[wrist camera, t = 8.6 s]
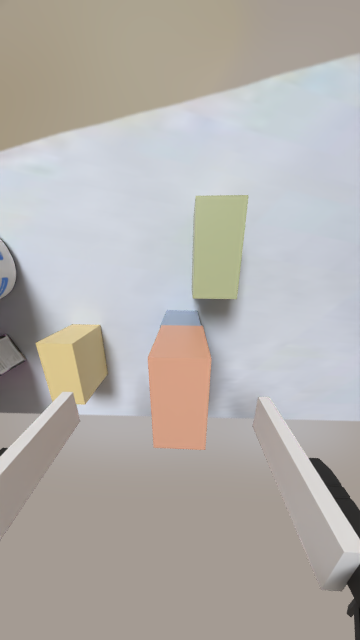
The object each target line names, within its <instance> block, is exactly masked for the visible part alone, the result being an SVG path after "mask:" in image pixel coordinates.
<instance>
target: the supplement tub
mask: <svg viewBox="0 0 360 640" xmlns="http://www.w3.org/2000/svg"><path fill="white" fill-rule="evenodd" d="M15 281H16V268H15V263H14V260H13V258H12V256H11V254H10V252H9V250H8V249H7V247H6V246H5V244H4V243H3V242H2V240H1V239H0V298H3V297H5V296H6V295H7V294H8V293H9V292H10V291H11V290H12V289H13V287H14V284H15Z"/></svg>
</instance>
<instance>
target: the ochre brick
mask: <svg viewBox="0 0 360 640" xmlns="http://www.w3.org/2000/svg"><path fill="white" fill-rule="evenodd" d="M36 347H37V350H38V353H39V357H40V360H41V364H42V367H43V371H44V374H45V378H46V381H47V384H48V388H49V391H50V395H51V398H52V402H53V401H54V400H55V399H56V398H57V397H58V396H59V395H60V394H61V393H62V392H73V394H74V398H75V402H76V404H86V403H87V401H88V400H89V399H90V397H91V396H92V395H93V393H94V392H95V390H96V389H97V388H98V386H99V385H100V384H101V382H102V381H103V380H104V378H105V377H106V376H107V374H108V372H107V365H106V359H105V352H104V346H103V339H102V333H101V326H100V325H80V324H72V325H70V326H68V327H66V328H64V329H62V330H60V331H58V332H56V333H54V334H52V335H50V336H48V337H46V338H44V339H42V340H40V341H38V342H36Z"/></svg>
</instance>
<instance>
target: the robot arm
mask: <svg viewBox="0 0 360 640" xmlns="http://www.w3.org/2000/svg"><path fill="white" fill-rule="evenodd" d="M79 422H80V419H79V415H78V410H77V406H76V402H75V398H74V394H73V392H62V393H61V394H60V395H59V396H58V397H57V398H56V399H55V400H54V401H53V402H52V403H51V404H50V405H49V406H48V407H47V408H46V410H45V411H44V412H43V413H42V414H41V415H40V416H39V417H38V418H37V419H36V420H35V421H34V422H33V423H32V424H31V425H30V426H29V427H28V428H27V429H26V430H25V431H24V432H23V433H22V434H21V435H20V437H19V438H18V439H17V440H16V441H15V442H14V443H13V444H12V445H11V446H10V447H9V448H2V449H1V450H0V540H1V538H2V537H3V535H4V534H5V532H6V531H7V529H8V528H9V527H10V525H11V523H12V522H13V521H14V519H15V518H16V516H17V514H18V513H19V512H20V510H21V509H22V507H23V506H24V504H25V502H26V501H27V500H28V498H29V497H30V495H31V494H32V492H33V491H34V489H35V488H36V486H37V485H38V483H39V481H40V480H41V478H42V477H43V476H44V474H45V473H46V471H47V470H48V468H49V467H50V465H51V464H52V462H53V461H54V459H55V458H56V456H57V455H58V453H59V452H60V450H61V449H62V447H63V446H64V444H65V443H66V441H67V440H68V438H69V437H70V435H71V434H72V433H73V431H74V429H75V428H76V427H77V425H78V424H79ZM253 428H254V431H255V433H256V436H257V438H258V440H259V443H260V445H261V447H262V450H263V452H264V455H265V457H266V460H267V462H268V464H269V467H270V469H271V472H272V474H273V476H274V479H275V481H276V484H277V486H278V488H279V491H280V493H281V496H282V498H283V500H284V503H285V505H286V508H287V510H288V512H289V514H290V517H291V519H292V522H293V524H294V527H295V529H296V532H297V534H298V536H299V539H300V541H301V544H302V546H303V548H304V551H305V553H306V555H307V558H308V560H309V563H310V565H311V568H312V570H313V572H314V575H315V577H316V580H317V582H318V584H319V587H320V589H321V590H329V591H342V590H343V589H344V587H345V586H346V585H348V586H349V588H350V590H351V592H352V594H353V596H354V599H353V600H352V602H351V603H350V604H349V606H348V610H347V614H348V615H349V616H350V617H352V616H353V615H354V622H355V640H360V510H359V509H358V507H357V506H356V504H355V503H354V502H353V501H352V500H351V499H350V496H349V495H348V493H347V492H346V490H345V489H344V488H343V487H342V486H341V483H340V482H339V480H338V479H337V478H336V476H335V475H334V474H333V472H332V471H331V470H330V469H329V468H328V467H327V466H326V465H325V464H324V463H323V462H322V461H321V460H320V459H318V458H308V457H307V455H306V454H305V452H304V451H303V449H302V448H301V446H300V445H299V443H298V441H297V440H296V438H295V437H294V435H293V433H292V432H291V430H290V429H289V427H288V426H287V424H286V423H285V421H284V419H283V418H282V416H281V414H280V413H279V411H278V410H277V408H276V407H275V405H274V403H273V402H272V400H271V399H270V397H258V401H257V406H256V412H255V417H254V422H253Z"/></svg>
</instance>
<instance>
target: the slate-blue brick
mask: <svg viewBox="0 0 360 640" xmlns="http://www.w3.org/2000/svg"><path fill="white" fill-rule="evenodd" d="M161 325H184V326H201V324H200V320H199V315H198V311H173V310H167V312H166V314H165V316H164V318H163V320H162V323H161ZM161 325H160V328H161Z"/></svg>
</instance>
